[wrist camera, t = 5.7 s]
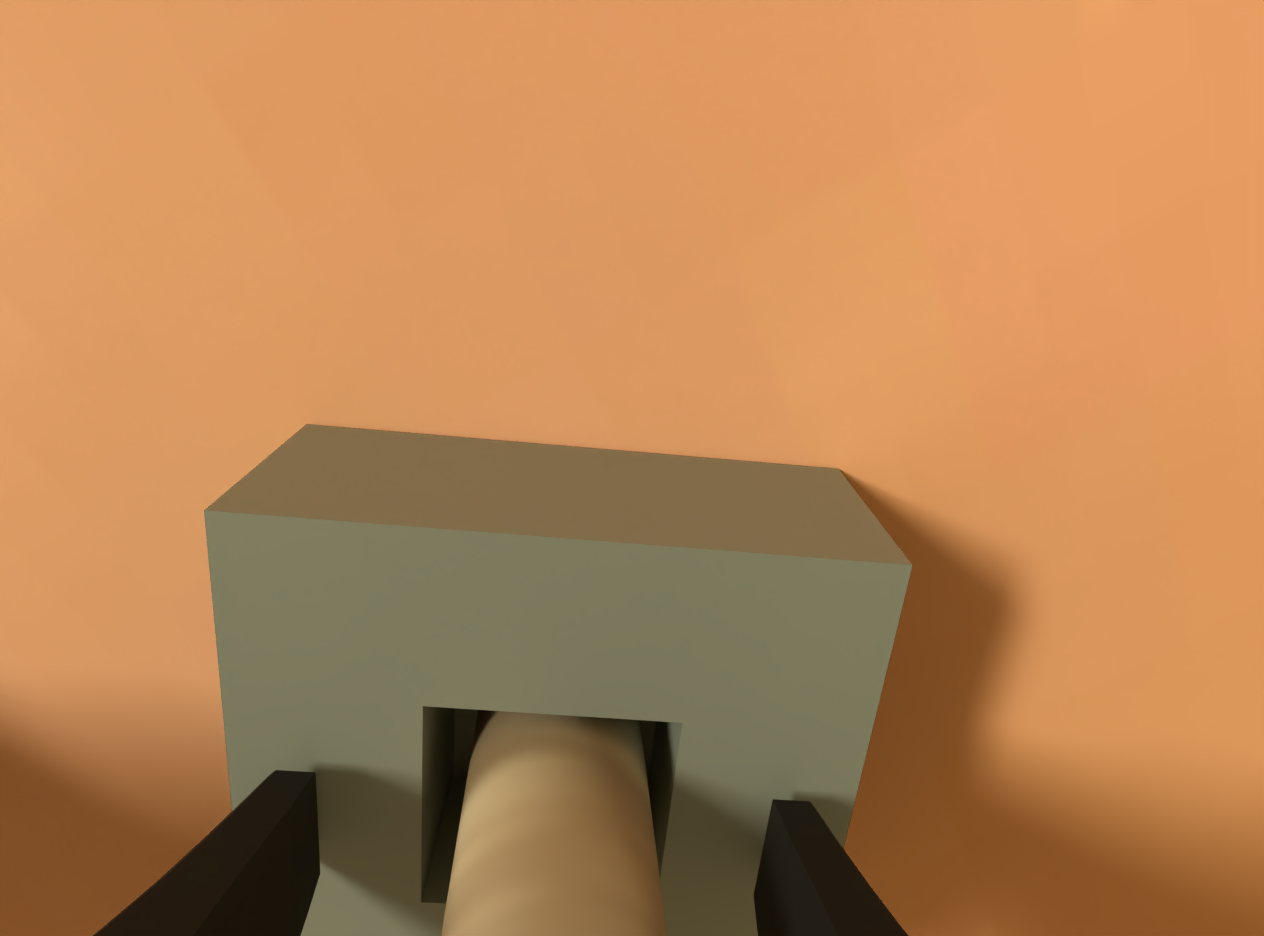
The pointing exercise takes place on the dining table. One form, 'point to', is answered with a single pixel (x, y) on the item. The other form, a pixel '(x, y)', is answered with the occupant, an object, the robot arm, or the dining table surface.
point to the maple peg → (555, 831)
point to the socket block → (545, 646)
